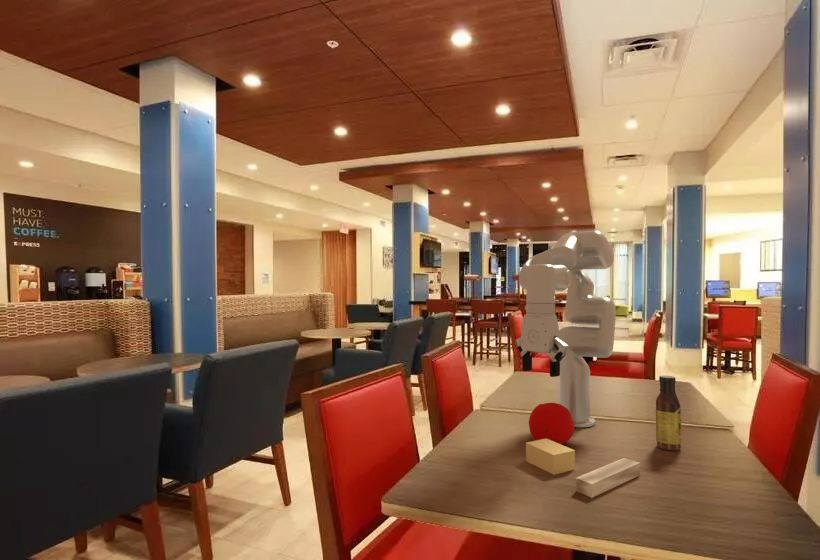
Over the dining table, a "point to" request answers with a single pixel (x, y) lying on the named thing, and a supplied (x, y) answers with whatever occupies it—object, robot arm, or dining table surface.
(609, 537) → the dining table surface
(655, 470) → the dining table surface
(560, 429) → the tomato
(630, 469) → the pale grey bar
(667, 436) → the sauce bottle
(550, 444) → the block
